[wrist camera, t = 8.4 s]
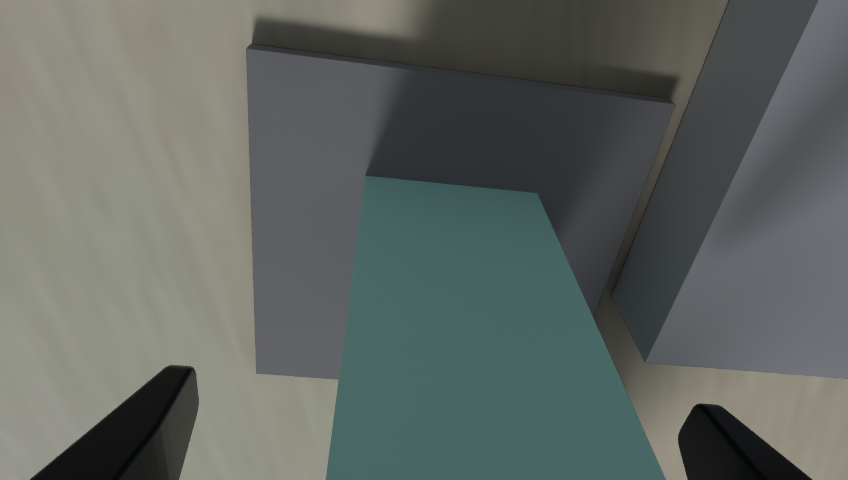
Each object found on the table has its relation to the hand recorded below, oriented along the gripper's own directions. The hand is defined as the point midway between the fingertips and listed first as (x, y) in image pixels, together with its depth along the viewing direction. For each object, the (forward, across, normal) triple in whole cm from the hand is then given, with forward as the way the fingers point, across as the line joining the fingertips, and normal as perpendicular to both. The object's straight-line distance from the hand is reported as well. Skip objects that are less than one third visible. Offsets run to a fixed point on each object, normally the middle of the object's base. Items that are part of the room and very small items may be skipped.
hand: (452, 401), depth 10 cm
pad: (+5, 0, 0) cm, 5 cm away
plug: (+5, 0, 0) cm, 5 cm away
